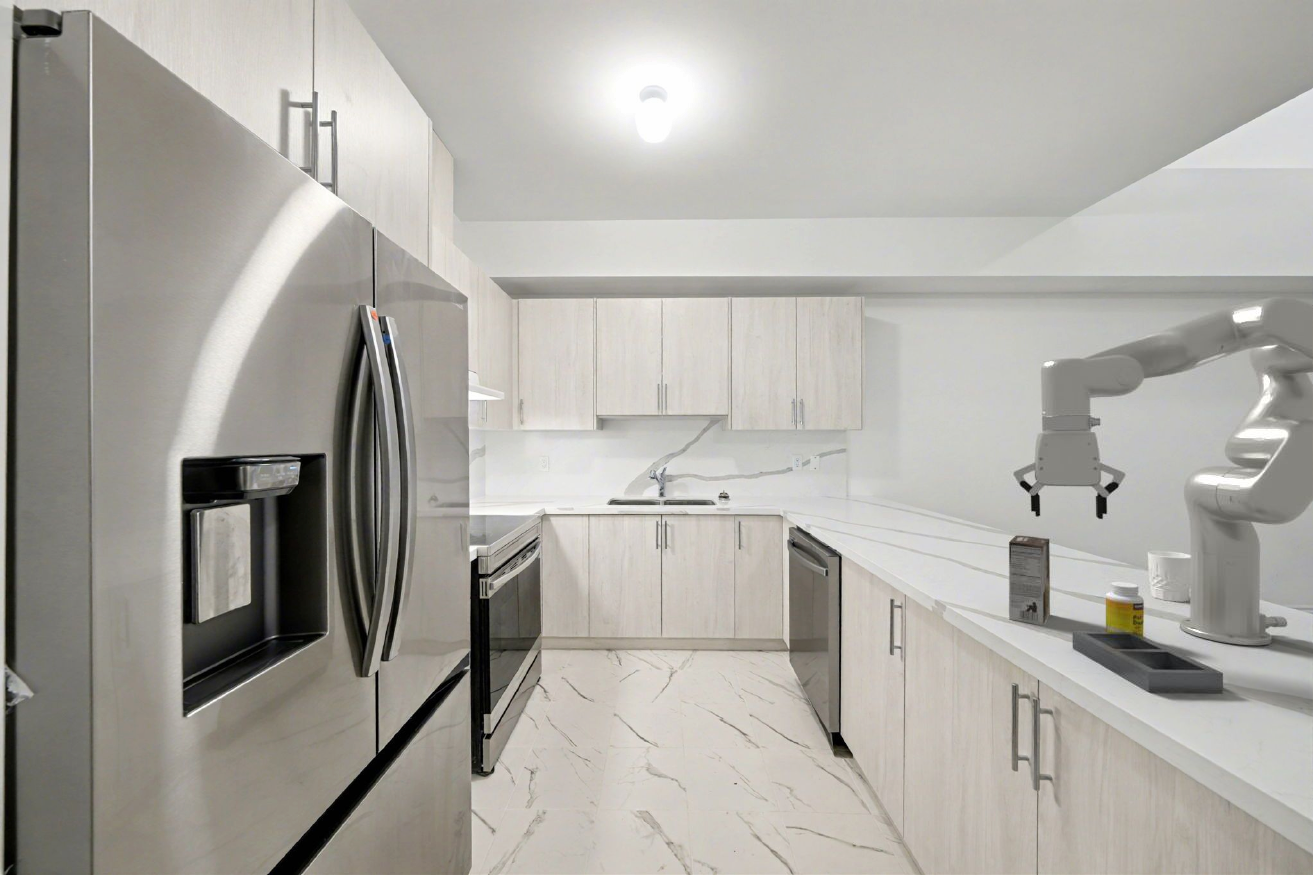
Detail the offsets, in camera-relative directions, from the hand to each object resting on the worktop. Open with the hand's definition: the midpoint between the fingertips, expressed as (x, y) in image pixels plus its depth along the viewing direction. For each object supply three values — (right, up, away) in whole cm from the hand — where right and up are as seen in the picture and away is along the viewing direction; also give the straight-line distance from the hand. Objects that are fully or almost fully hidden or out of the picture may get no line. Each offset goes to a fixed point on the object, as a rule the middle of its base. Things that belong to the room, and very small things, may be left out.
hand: (1067, 516), depth 114 cm
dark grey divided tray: (+2, -23, -15) cm, 27 cm away
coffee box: (0, -23, +12) cm, 26 cm away
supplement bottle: (+10, -23, -1) cm, 25 cm away
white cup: (+40, -22, +25) cm, 52 cm away
